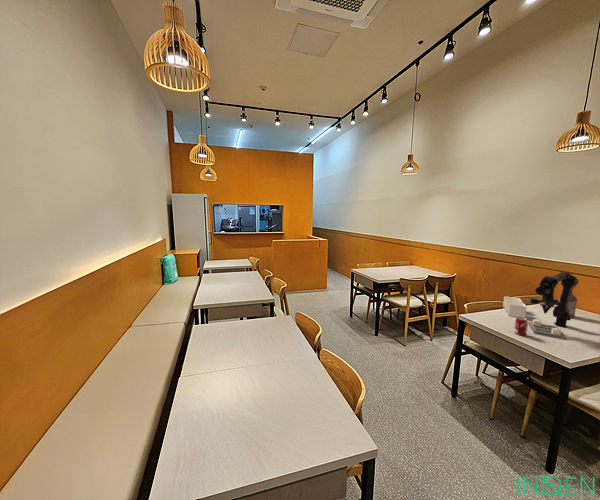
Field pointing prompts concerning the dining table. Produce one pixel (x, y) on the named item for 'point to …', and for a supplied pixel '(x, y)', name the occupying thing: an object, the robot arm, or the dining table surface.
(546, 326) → the gray shelf unit
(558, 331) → the tab
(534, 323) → the tab
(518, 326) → the soda can
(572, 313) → the liquor
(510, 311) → the storage container
